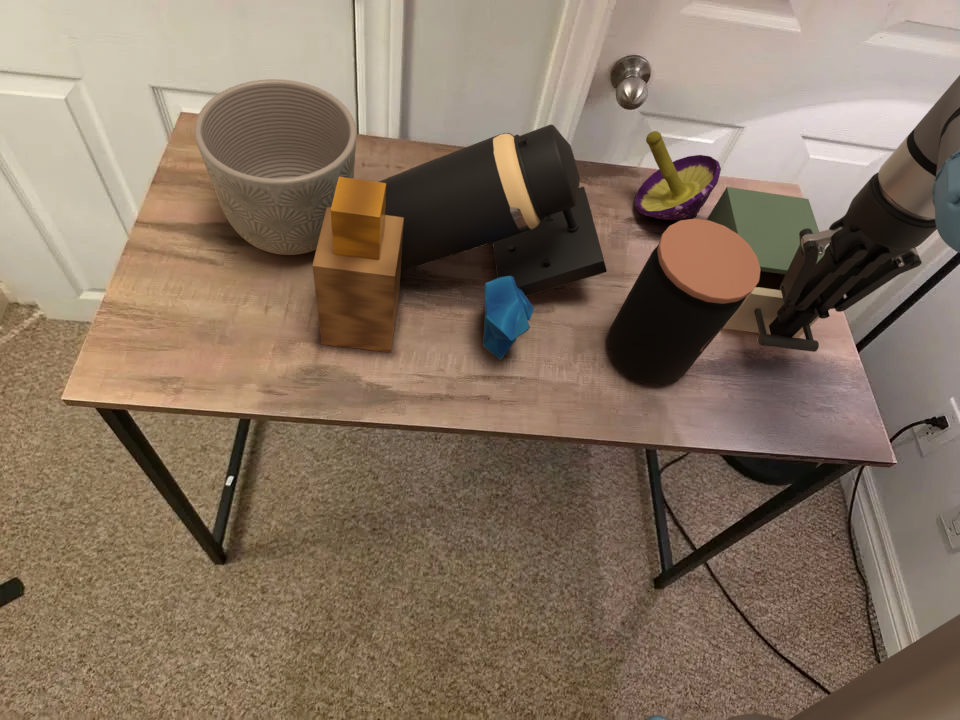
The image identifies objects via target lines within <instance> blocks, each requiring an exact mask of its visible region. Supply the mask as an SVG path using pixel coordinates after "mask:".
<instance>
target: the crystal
mask: <svg viewBox="0 0 960 720" xmlns="http://www.w3.org/2000/svg"><path fill="white" fill-rule="evenodd" d="M483 286H484V321H483V322H484V323H483V324H484V325H483V342H482V343H483V348H484V349H485V350H487V351H488V352H490V353H491V354H492V355H493V356H495V357H496V358H498V359H499V360H500V361H501V360H502V359H504V357H505V355H506V354H507V352H508V351H509V350H510V348H511V347H512V346H513V345H514V343H515V342H516V341H517V339H518V337H520V336H521V335H523V334H525V333H526V332H527V331H529V329H530V328H531V326H530V321H531V318H532V315H533V312H534V310H535V308H534V306H533V305H532V303H531V301H530V300H529V298H528V296H525V294H524V293H523V292H522V290H520V289H519V288H517V286H516V283H515V280H514V277H512V276H505V277H499V278H495V279H492V280H490V281H486V282H485V284H484V285H483Z"/></svg>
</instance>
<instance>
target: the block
mask: <svg viewBox="0 0 960 720" xmlns="http://www.w3.org/2000/svg"><path fill="white" fill-rule="evenodd" d="M330 211H331V224H332V238H333V251H334V254H337V255H345V256H353V257H360V258H368V259H376V260H379V259H380V254H381V248H382V242H383V236H384V231H385V211H386V183H381V182H379V181H373V180H366V179H359V178H354V179H353V178H346V177H338V181H337V185H336V189H335V193H334V198H333V202H332V206H331V210H330Z"/></svg>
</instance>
